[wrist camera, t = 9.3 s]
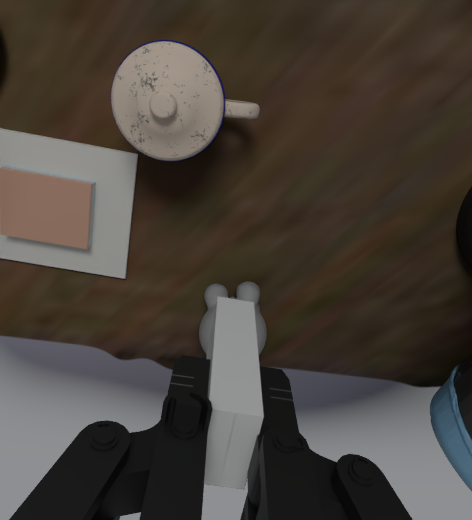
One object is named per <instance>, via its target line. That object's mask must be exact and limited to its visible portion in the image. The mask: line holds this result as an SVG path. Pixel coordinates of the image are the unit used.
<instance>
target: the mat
mask: <svg viewBox="0 0 472 520" xmlns="http://www.w3.org/2000/svg"><path fill="white" fill-rule="evenodd" d="M137 162H138V154H136V153H131V152H125V151H120V150H114V149H109V148H104V147H98V146H93V145H88V144H82V143H77V142H72V141H66V140H61V139H56V138H50V137H45V136H40V135H34V134H29V133H23V132H18V131H13V130H7V129H2V128H0V168H1V167H4V166H7V165H8V166H13V167H19V168H24V169H30V170H35V171H41V172H46V173H52V174H57V175H63V176H68V177H74V178H79V179H85V180H90V181H96V186H95V202H94V217H93V232H92V244H91V245H90V247H89V248H88V249H83V248H77V247H71V246H65V245H59V244H53V243H47V242H41V241H35V240H30V239H24V238H18V237H12V236H6V235H0V258H3V259H9V260H15V261H21V262H27V263H33V264H39V265H45V266H51V267H57V268H63V269H69V270H75V271H81V272H87V273H93V274H99V275H105V276H112V277H118V278H124V279H125V278H126V272H127V262H128V252H129V242H130V232H131V222H132V212H133V202H134V192H135V182H136V172H137Z"/></svg>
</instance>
